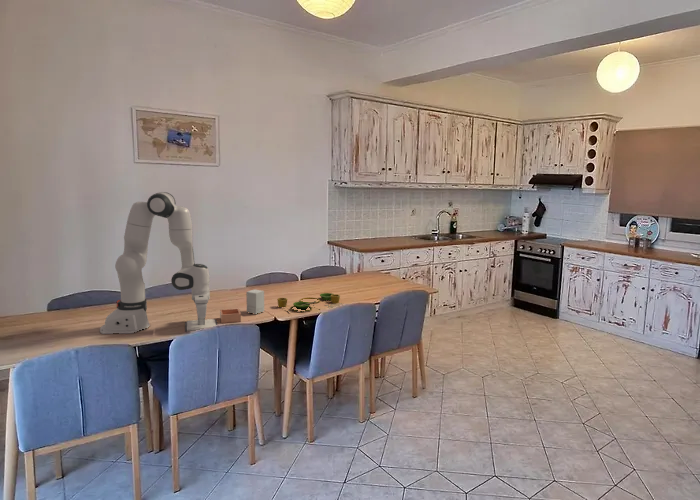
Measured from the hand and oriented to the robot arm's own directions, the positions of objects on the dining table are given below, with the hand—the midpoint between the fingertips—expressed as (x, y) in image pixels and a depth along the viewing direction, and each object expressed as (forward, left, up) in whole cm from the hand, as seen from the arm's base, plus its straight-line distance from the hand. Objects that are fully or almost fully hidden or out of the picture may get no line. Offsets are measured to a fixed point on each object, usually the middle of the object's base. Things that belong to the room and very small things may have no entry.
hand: (201, 321), depth 238 cm
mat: (0, 0, -2) cm, 2 cm away
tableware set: (+65, +27, -3) cm, 70 cm away
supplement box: (+30, +18, -3) cm, 35 cm away
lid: (0, 0, -2) cm, 2 cm away
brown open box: (+15, +6, -2) cm, 16 cm away
